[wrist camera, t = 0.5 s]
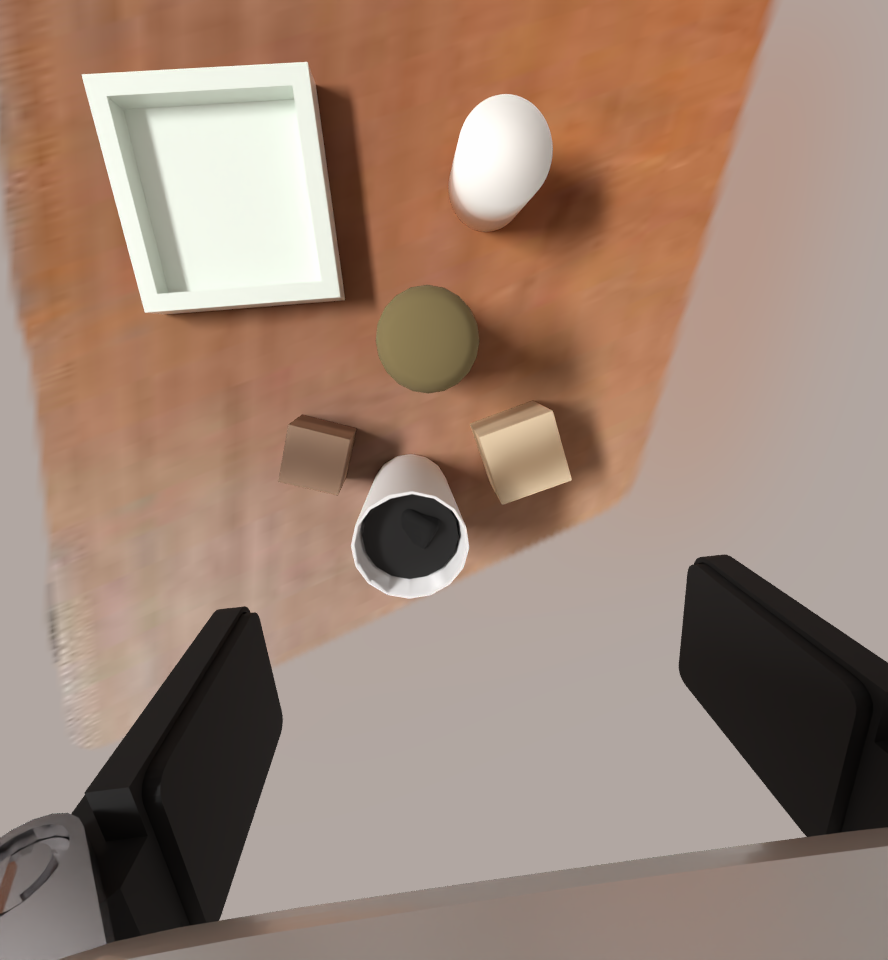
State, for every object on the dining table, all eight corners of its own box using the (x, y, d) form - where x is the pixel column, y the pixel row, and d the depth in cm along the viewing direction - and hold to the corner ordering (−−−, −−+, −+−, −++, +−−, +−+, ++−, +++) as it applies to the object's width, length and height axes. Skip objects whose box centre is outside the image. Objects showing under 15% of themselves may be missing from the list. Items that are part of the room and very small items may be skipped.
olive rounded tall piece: (477, 310, 31) (510, 297, 21) (450, 394, 33) (468, 420, 22) (393, 281, 30) (384, 251, 20) (369, 368, 32) (350, 383, 21)
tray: (109, 96, 26) (81, 74, 24) (315, 84, 27) (307, 61, 25) (164, 314, 30) (144, 312, 28) (345, 300, 30) (340, 297, 28)
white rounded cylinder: (445, 145, 28) (454, 97, 23) (523, 140, 28) (552, 91, 23) (451, 234, 30) (461, 210, 24) (525, 228, 30) (552, 203, 24)
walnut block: (302, 414, 33) (288, 424, 29) (357, 428, 33) (350, 439, 29) (292, 465, 34) (278, 481, 30) (345, 478, 34) (337, 495, 31)
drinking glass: (388, 434, 33) (379, 472, 24) (467, 469, 35) (489, 519, 25) (353, 510, 35) (333, 574, 26) (431, 541, 36) (438, 613, 27)
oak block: (469, 423, 34) (479, 437, 29) (532, 400, 34) (552, 410, 29) (489, 482, 35) (502, 505, 31) (550, 460, 35) (571, 480, 30)
